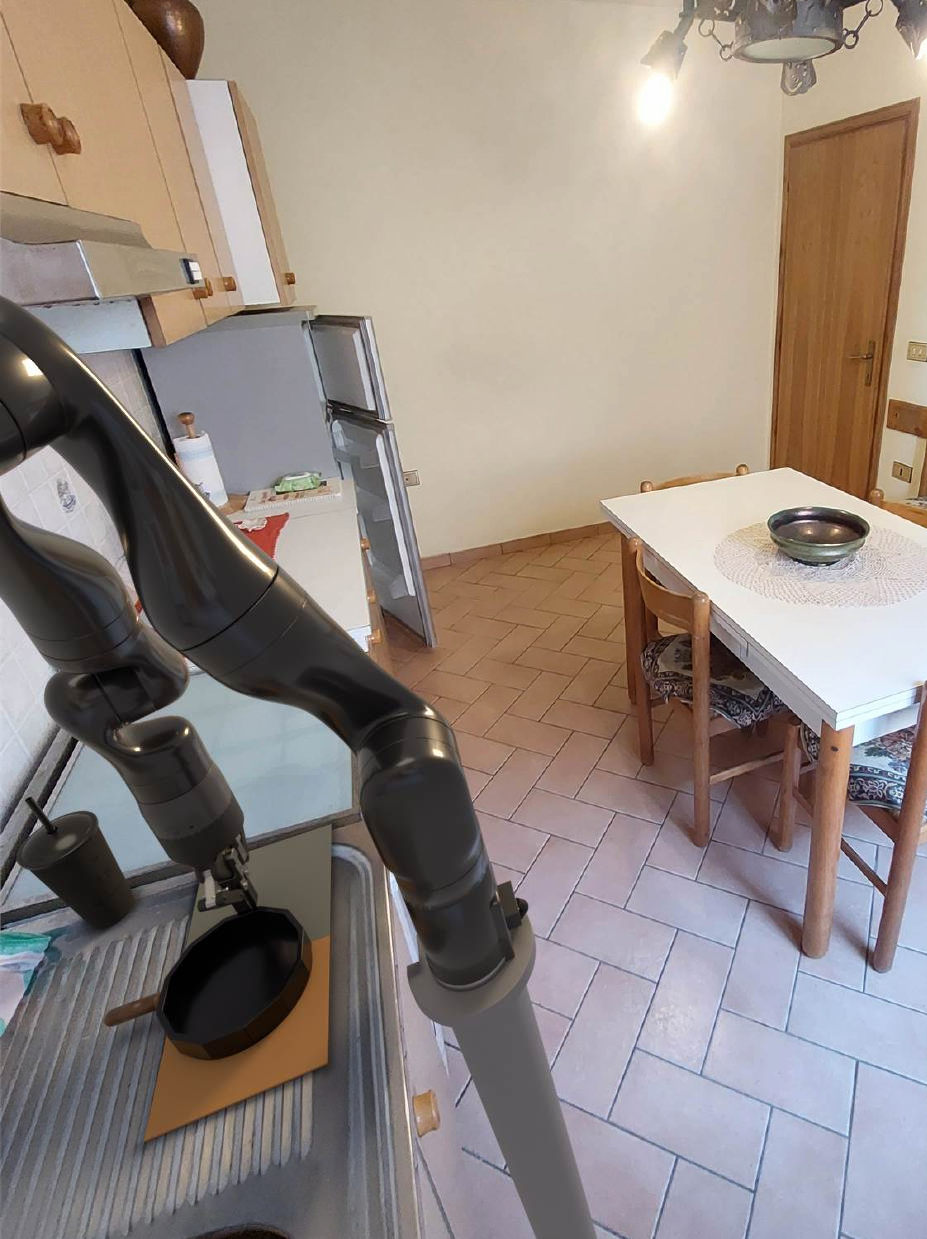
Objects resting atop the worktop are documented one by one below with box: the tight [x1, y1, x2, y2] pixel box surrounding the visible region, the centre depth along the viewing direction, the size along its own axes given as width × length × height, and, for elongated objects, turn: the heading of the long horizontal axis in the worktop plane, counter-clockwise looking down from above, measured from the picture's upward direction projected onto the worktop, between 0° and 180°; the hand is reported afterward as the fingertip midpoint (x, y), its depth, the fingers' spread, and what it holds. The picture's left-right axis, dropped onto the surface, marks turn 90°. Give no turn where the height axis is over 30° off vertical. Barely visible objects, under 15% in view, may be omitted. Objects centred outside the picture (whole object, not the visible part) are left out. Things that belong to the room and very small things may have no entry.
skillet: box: [103, 906, 313, 1060], centre depth 70 cm, size 19×14×4 cm
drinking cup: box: [16, 796, 136, 930], centre depth 77 cm, size 8×8×20 cm
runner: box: [143, 823, 333, 1143], centre depth 75 cm, size 16×31×1 cm, turn 20°
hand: (248, 905), depth 78 cm, fingers closed
